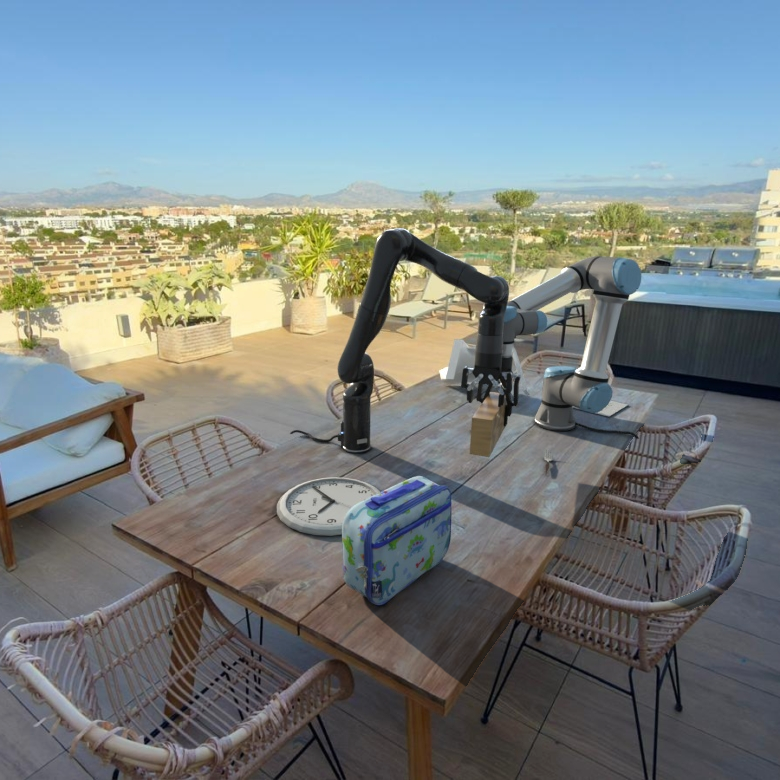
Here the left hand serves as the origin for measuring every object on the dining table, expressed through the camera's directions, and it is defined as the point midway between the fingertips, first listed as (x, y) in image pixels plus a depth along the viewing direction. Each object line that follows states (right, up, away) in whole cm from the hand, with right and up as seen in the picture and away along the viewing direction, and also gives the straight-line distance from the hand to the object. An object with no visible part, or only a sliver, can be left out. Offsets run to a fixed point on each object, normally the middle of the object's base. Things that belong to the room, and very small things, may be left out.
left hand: (485, 404), depth 151 cm
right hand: (+7, -7, +22) cm, 24 cm away
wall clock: (-43, -27, -8) cm, 52 cm away
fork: (+24, -20, +18) cm, 36 cm away
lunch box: (-26, -37, -37) cm, 58 cm away
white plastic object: (+14, +3, +92) cm, 93 cm away
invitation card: (+64, -3, +75) cm, 99 cm away
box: (+4, -11, +13) cm, 18 cm away
